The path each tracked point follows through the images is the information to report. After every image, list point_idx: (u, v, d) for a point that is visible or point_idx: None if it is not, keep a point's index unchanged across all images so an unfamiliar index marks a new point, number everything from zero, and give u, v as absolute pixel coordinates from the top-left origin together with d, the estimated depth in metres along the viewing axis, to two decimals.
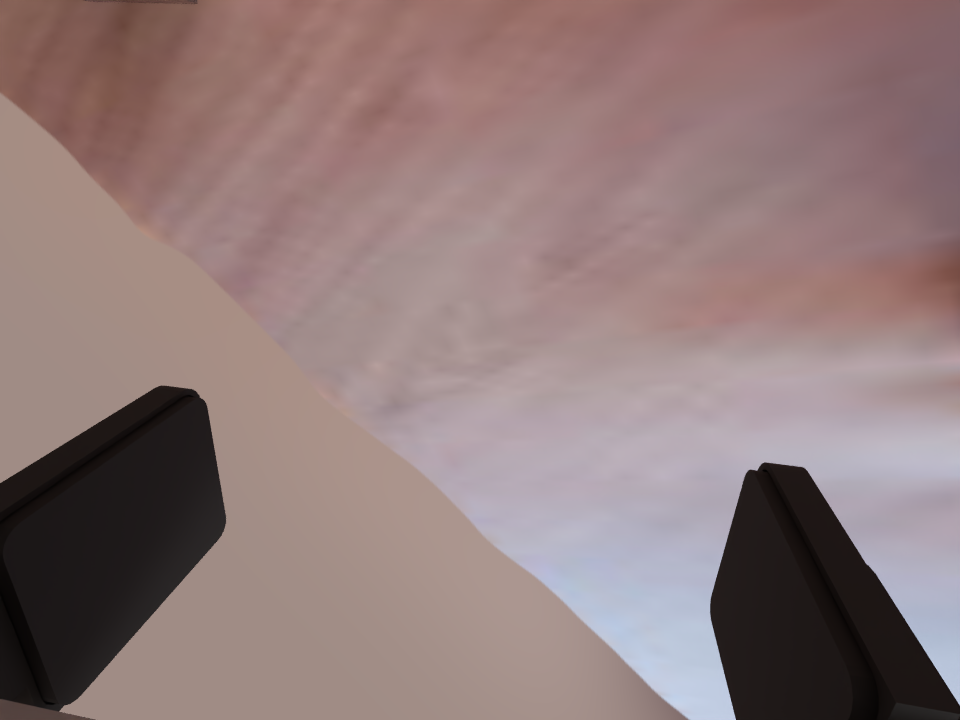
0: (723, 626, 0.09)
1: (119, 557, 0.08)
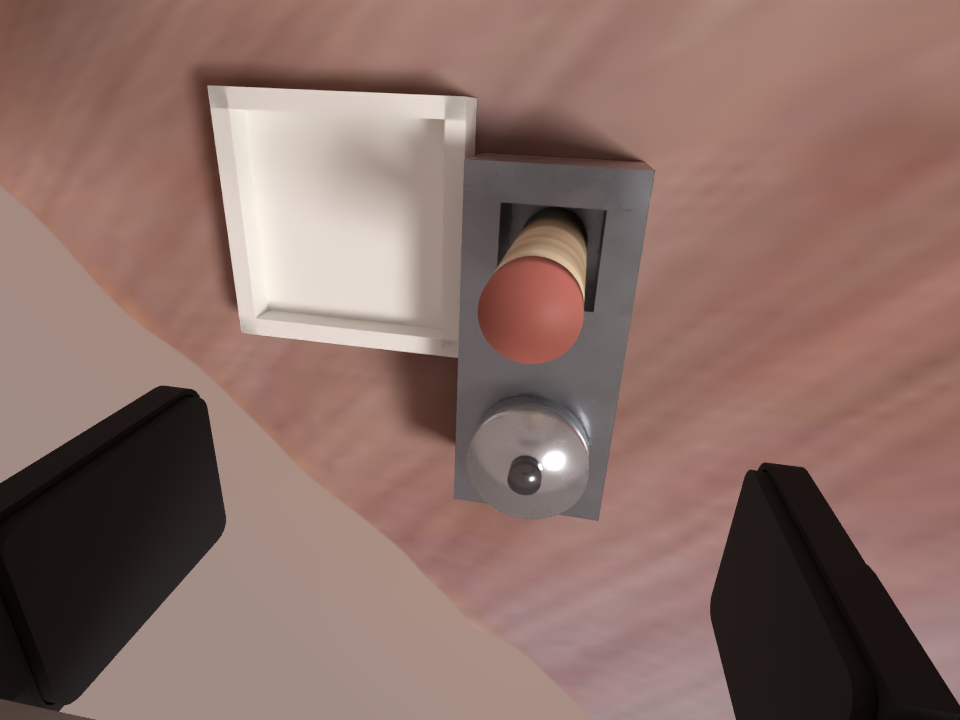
0: (723, 626, 0.09)
1: (119, 557, 0.08)
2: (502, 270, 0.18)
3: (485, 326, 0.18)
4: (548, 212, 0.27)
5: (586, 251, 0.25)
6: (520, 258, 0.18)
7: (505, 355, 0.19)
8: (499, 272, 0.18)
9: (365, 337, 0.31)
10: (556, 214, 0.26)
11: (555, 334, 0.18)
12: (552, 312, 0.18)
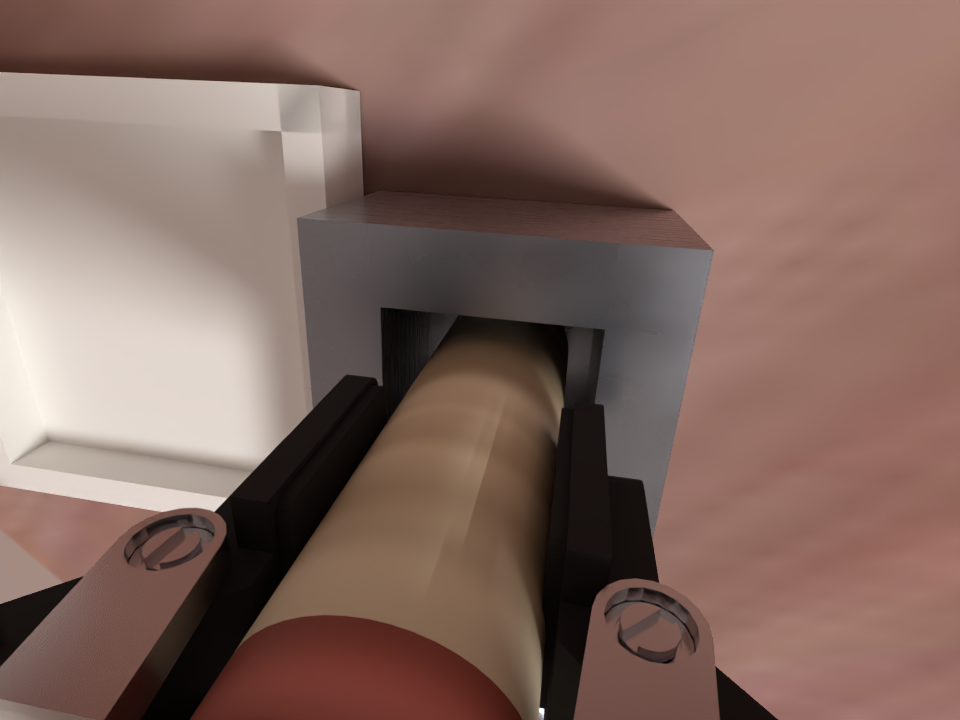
0: None
1: None
2: None
3: None
4: None
5: (562, 404, 0.12)
6: (306, 631, 0.05)
7: None
8: None
9: (190, 502, 0.18)
10: (503, 320, 0.13)
11: None
12: None
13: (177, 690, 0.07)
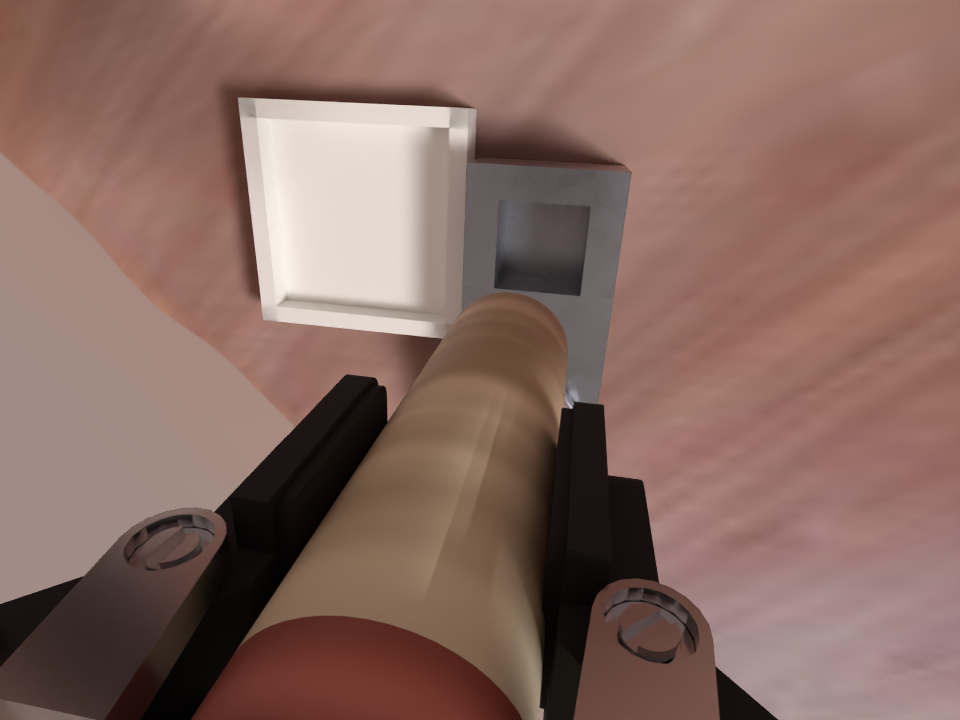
0: None
1: None
2: None
3: None
4: (490, 312, 0.14)
5: (562, 405, 0.12)
6: (306, 632, 0.05)
7: None
8: None
9: (376, 322, 0.35)
10: (503, 320, 0.13)
11: None
12: None
13: (177, 690, 0.07)
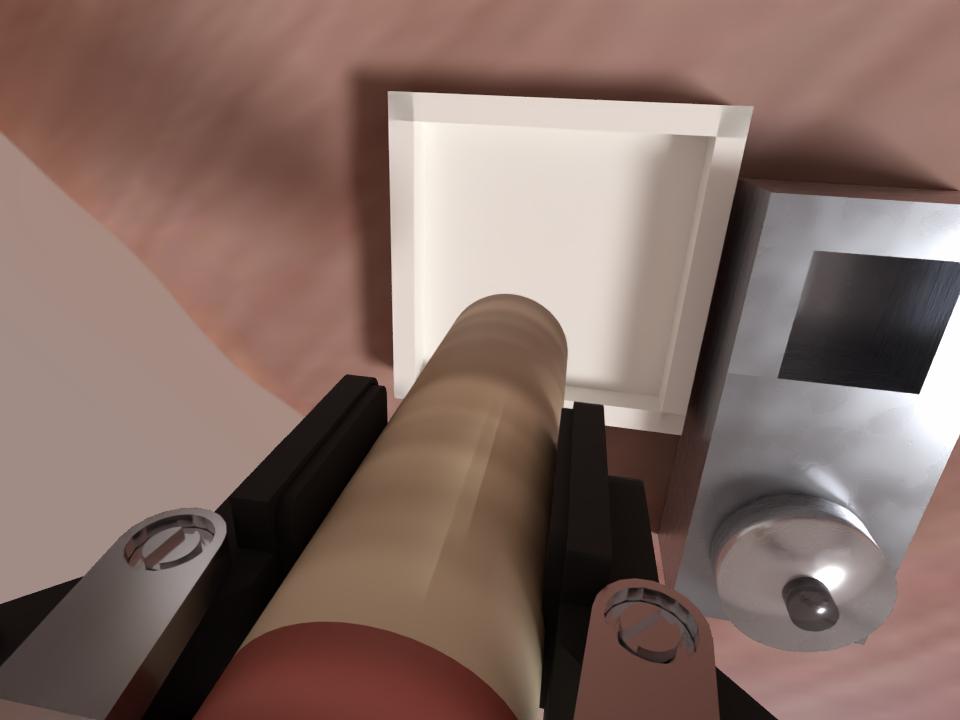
0: None
1: None
2: None
3: None
4: (489, 313, 0.14)
5: (561, 407, 0.12)
6: (304, 638, 0.05)
7: None
8: None
9: None
10: (503, 322, 0.13)
11: None
12: None
13: (177, 690, 0.07)
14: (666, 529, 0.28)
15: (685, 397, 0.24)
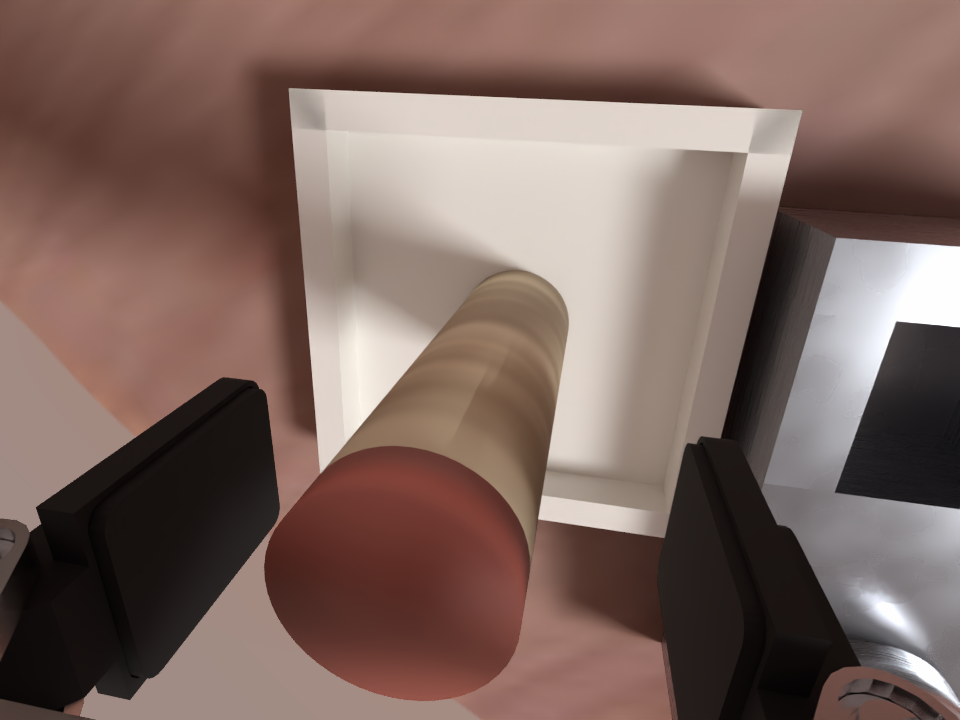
0: (665, 590, 0.09)
1: (194, 539, 0.08)
2: (310, 499, 0.07)
3: (288, 613, 0.08)
4: (500, 283, 0.16)
5: (561, 357, 0.14)
6: (369, 454, 0.07)
7: (341, 675, 0.08)
8: (304, 502, 0.07)
9: None
10: (512, 288, 0.15)
11: (453, 649, 0.07)
12: (442, 602, 0.07)
13: None
14: None
15: None
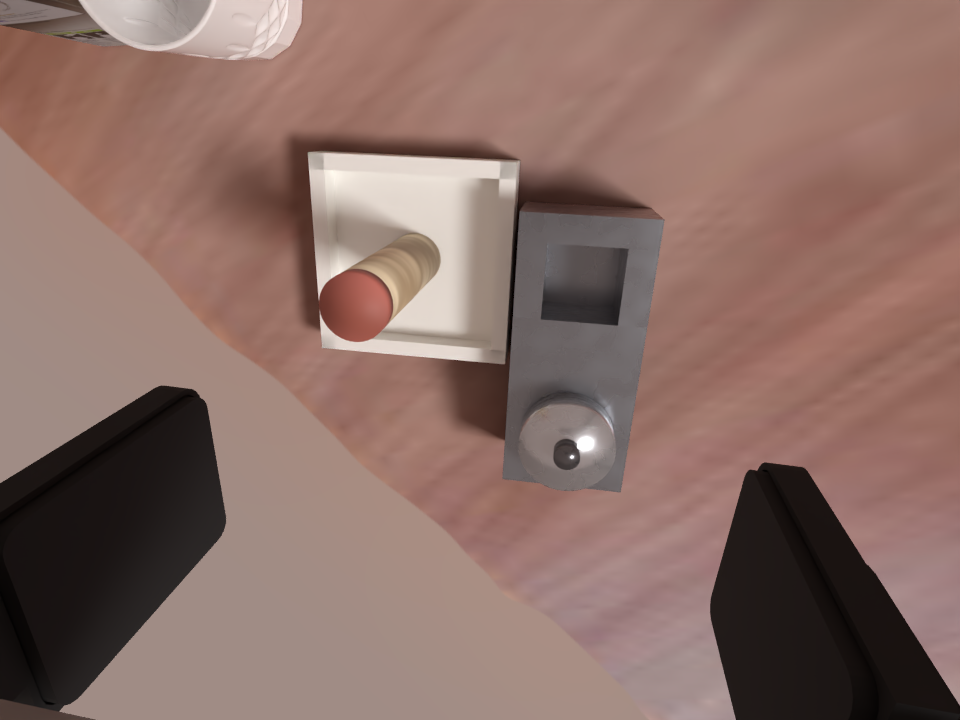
0: (723, 626, 0.09)
1: (119, 557, 0.08)
2: None
3: (325, 317, 0.27)
4: (404, 237, 0.36)
5: (427, 265, 0.34)
6: (346, 270, 0.27)
7: (340, 336, 0.27)
8: (330, 280, 0.26)
9: (427, 349, 0.38)
10: (408, 239, 0.35)
11: (371, 321, 0.27)
12: (367, 306, 0.27)
13: None
14: None
15: (503, 338, 0.37)
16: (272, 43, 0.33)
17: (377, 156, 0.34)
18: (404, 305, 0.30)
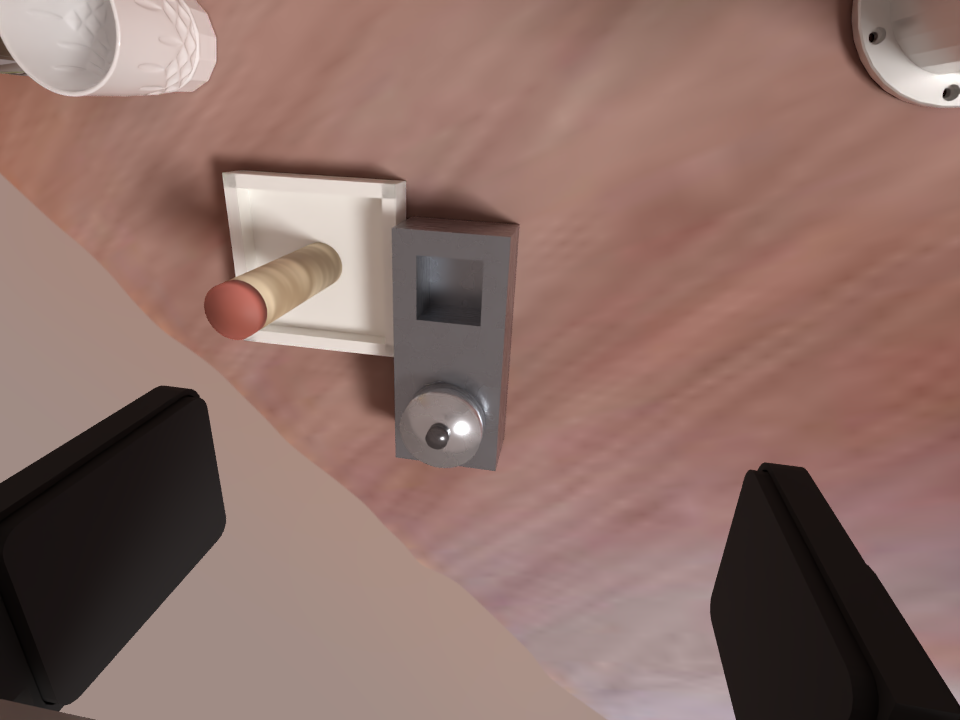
0: (723, 626, 0.09)
1: (119, 557, 0.08)
2: (212, 288, 0.32)
3: (210, 319, 0.33)
4: (305, 247, 0.41)
5: (319, 272, 0.40)
6: (227, 281, 0.33)
7: (224, 335, 0.33)
8: (211, 289, 0.32)
9: (332, 343, 0.44)
10: (307, 248, 0.41)
11: (246, 323, 0.33)
12: (241, 310, 0.32)
13: None
14: None
15: None
16: (188, 80, 0.39)
17: (279, 177, 0.40)
18: (287, 308, 0.36)
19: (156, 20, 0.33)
